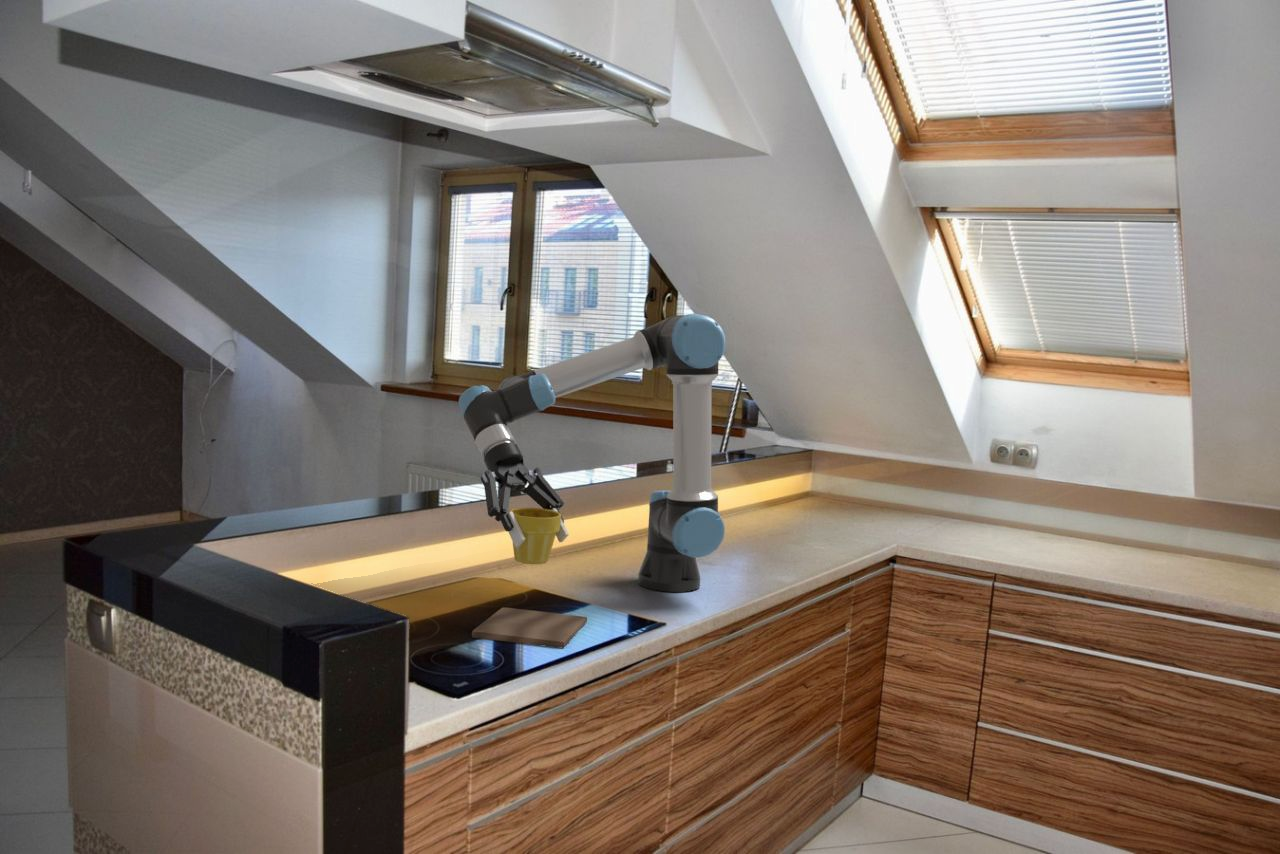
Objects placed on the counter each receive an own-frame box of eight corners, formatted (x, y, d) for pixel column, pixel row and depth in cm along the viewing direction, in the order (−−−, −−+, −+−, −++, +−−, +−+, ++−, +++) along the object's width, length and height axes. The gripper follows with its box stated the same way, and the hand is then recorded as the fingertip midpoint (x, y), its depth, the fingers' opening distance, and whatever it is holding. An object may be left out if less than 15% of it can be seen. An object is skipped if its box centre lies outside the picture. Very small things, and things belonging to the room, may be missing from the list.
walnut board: (586, 622, 195) (587, 616, 195) (564, 648, 177) (564, 642, 177) (502, 612, 198) (502, 607, 198) (471, 637, 180) (472, 631, 180)
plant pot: (556, 568, 185) (560, 518, 184) (503, 564, 184) (506, 514, 184) (558, 556, 195) (562, 509, 195) (507, 553, 195) (511, 505, 194)
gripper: (534, 460, 207) (576, 546, 198) (444, 464, 191) (486, 557, 181) (551, 439, 203) (595, 525, 193) (461, 441, 187) (504, 535, 177)
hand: (542, 540), depth 187 cm, fingers closed on plant pot, 10 cm apart
